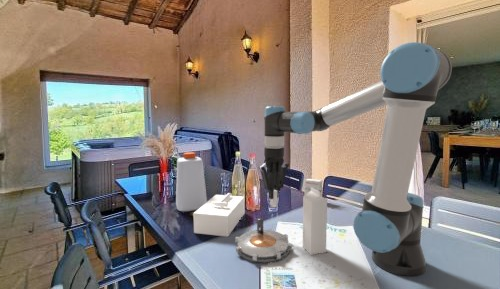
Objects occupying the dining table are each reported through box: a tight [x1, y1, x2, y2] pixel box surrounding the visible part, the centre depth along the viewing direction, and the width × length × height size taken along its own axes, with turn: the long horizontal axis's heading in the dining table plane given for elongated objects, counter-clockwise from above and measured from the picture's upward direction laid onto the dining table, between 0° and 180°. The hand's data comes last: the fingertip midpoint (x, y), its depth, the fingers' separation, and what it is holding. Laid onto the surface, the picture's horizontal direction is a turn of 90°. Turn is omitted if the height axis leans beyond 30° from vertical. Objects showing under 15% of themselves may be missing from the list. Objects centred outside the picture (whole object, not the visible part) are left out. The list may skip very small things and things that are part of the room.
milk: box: [302, 187, 328, 256], centre depth 95 cm, size 6×6×22 cm
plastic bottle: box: [175, 151, 208, 212], centre depth 140 cm, size 15×15×28 cm
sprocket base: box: [235, 243, 291, 264], centre depth 98 cm, size 19×19×1 cm
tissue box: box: [192, 192, 246, 237], centre depth 121 cm, size 14×25×11 cm, turn 166°
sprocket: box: [234, 217, 293, 261], centre depth 97 cm, size 20×20×7 cm
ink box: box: [304, 178, 323, 197], centre depth 147 cm, size 9×5×12 cm, turn 58°
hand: (273, 206), depth 108 cm, fingers closed
